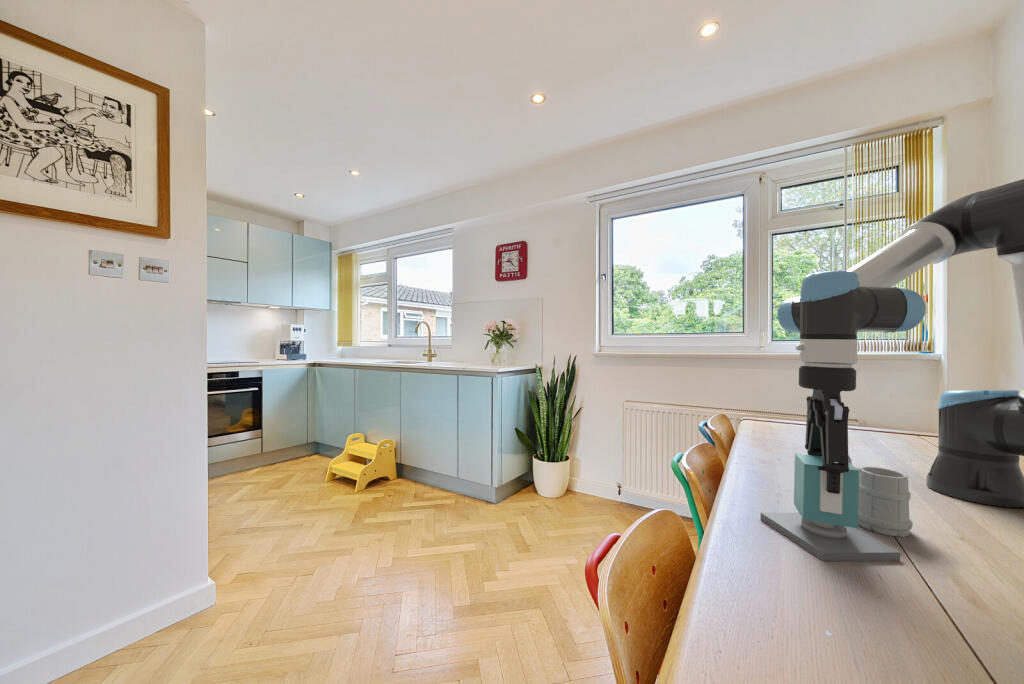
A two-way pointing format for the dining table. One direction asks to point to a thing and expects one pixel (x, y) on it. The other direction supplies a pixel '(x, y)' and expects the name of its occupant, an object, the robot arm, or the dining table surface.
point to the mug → (883, 501)
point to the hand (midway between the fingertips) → (823, 502)
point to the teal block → (810, 492)
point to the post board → (830, 539)
